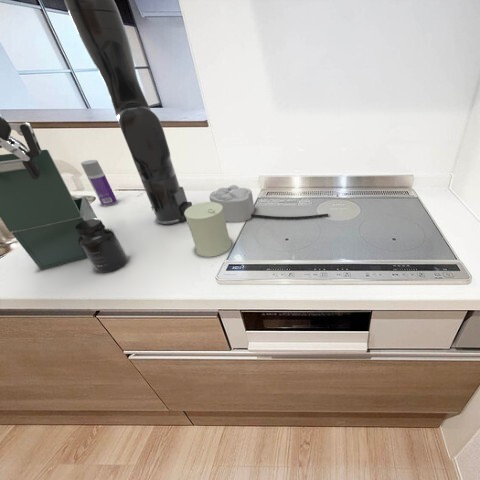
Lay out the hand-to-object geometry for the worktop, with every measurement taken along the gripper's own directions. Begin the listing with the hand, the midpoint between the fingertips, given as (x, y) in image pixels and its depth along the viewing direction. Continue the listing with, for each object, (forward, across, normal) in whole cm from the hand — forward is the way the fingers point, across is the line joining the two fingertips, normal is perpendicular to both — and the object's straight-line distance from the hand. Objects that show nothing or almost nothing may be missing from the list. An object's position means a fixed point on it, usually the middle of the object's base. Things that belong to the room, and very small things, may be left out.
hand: (14, 180), depth 53 cm
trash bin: (+22, 0, +9) cm, 24 cm away
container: (+23, +8, +36) cm, 44 cm away
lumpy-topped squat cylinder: (+22, +42, +3) cm, 48 cm away
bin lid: (+4, 0, +4) cm, 5 cm away
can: (+22, +32, -12) cm, 41 cm away
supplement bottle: (+22, +8, -6) cm, 24 cm away
